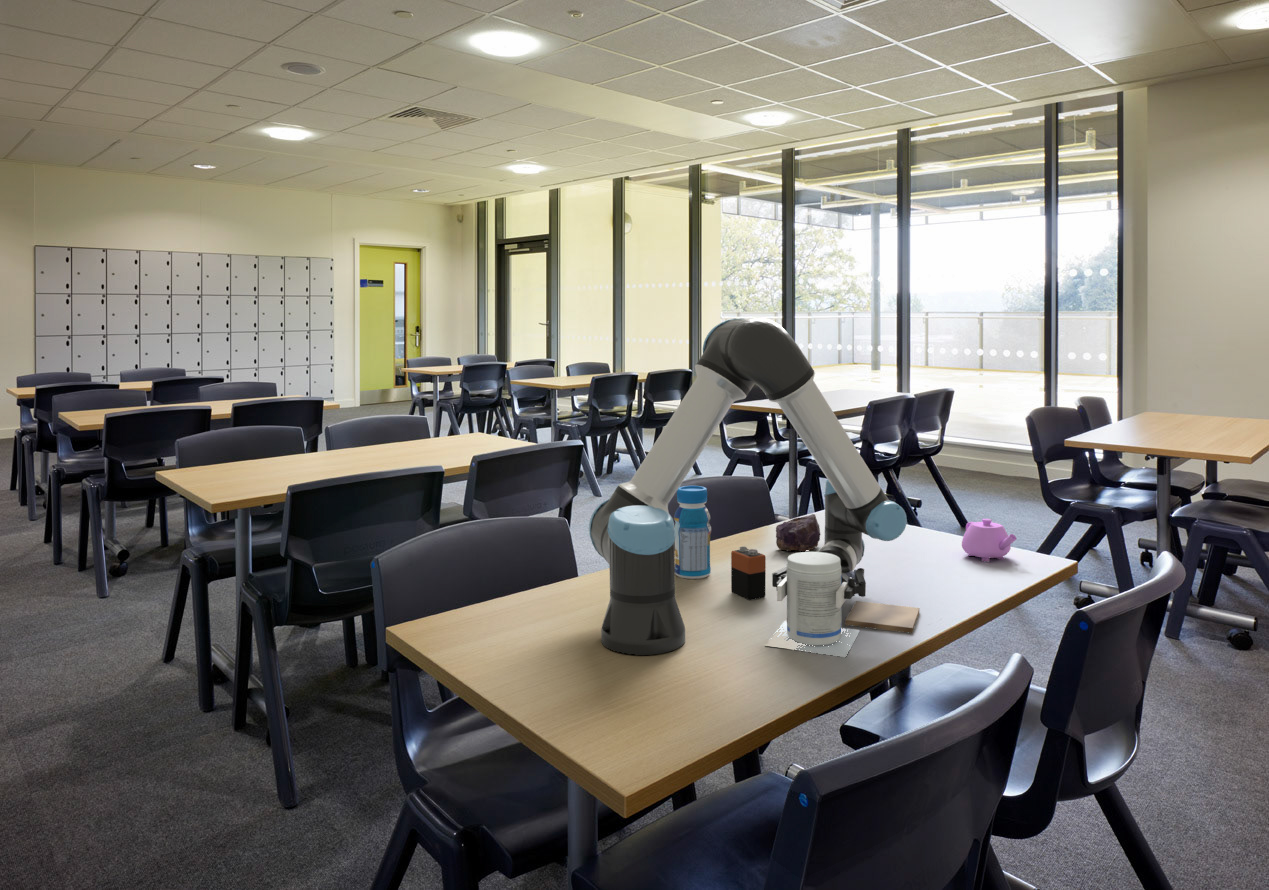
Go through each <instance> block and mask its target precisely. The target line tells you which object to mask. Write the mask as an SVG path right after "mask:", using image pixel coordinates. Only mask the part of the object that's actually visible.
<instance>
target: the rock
mask: <svg viewBox="0 0 1269 890" xmlns="http://www.w3.org/2000/svg"><path fill="white" fill-rule="evenodd" d="M816 516H817V515H816V514H814V513H812V514H810V515H804V516H801V517H794V518H792V519H790V520H788V521H784V522H782V523H780V524H778V525H776V527H775V538H776V540H775V541H776V542H775V543H776V546H777V548H778V550H781V551H782V550H788V551H787V552H790V551H791V550H795V551H798V552H801V551H805V552H807V551H806V550H809V551H810V549H811V550H813V549H814V548H817V547H818V546H819V542H820V540H821V539H820V538H821V529H820V525H819V522H818V520H817V517H816ZM791 552H792V551H791Z"/></svg>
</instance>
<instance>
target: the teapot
mask: <svg viewBox="0 0 1269 890" xmlns="http://www.w3.org/2000/svg"><path fill="white" fill-rule="evenodd" d="M1016 540H1017V536H1016V535H1014V533H1010V534H1008V533H1007V531H1006V529H1005V527H1004V525H1002V524H1000V523H998V522H993V519H991V518H982V519H981V521H976V522H975V521H969V522H967V523H966V525H965V532H964V534H963V537H962V540H961V548H962V549H963V551H964V553H966V554H967V555H968V556H975V557H977V558H978V557H979V558H981V559H980V560H982V562H984V561H989V562H990V560H991V559H993V558H995V559H996V558H998V559H997V560H1004V559H1005V556H1007V554H1008V553H1010V550H1011V546H1012V544H1013V543H1014V542H1015V541H1016ZM968 556H967V557H968Z"/></svg>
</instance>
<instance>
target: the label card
mask: <svg viewBox="0 0 1269 890" xmlns="http://www.w3.org/2000/svg"><path fill="white" fill-rule="evenodd" d="M779 627H780V628H779ZM779 627H778V628H779V629H781V630H780V631H779V632H781V633H780V634H779V635H778V636H777V637H779V636H780V635H781V634H782V632H785V631H786V632H785V633H784V634H783V635H782V636H787V637H786V638H788V637H789V636H788V634H786V633H787V620H784V621H782V623H781V625H780V626H779ZM782 627H783V628H782ZM778 628H777V629H776V631H775V632H774V634H775V633H776V632H778V630H779V629H778ZM841 628H842V629H843V628H844V627H841ZM783 629H784V630H783ZM847 629H849V630H848V632H847ZM847 629H846V631H845V633H844V631H843V632H842V634H841V637H840V639H839V640H838V641H837V642H834V643H832V644H833V645H832V644H828V645H824V646H823V645H819V646H815V645H813V646H812V645H810V646H809V645H806V644H805V645H806V646H803V645H801V646H800V645H798V646H800V647H802V646H803V647H802V648H800V647H799V648H796V649H797V650H799V649H800V650H799V651H798V652H801V650H803V651H805V650H806V651H805V652H804V653H808V652H810V651H811V654H816V653H818V655H823V654H826V655H825V656H830V655H833V656H832V657H837V656H840V657H839V658H845V657H846V656H848V655H846V654H849V653H848V651H849V650H850V651H851V648H852V647H853V645H854V643H855V641H856V639H857V636H858V635H859V633H860V632H861V630H860V629H855V628H847ZM850 629H851V630H850ZM846 633H849V634H848V636H847V637H846V636H845V635H847V634H846ZM850 633H851V634H850ZM849 635H850V637H849ZM786 638H785V639H786ZM770 639H772V638H771V637H770ZM785 639H784V640H785ZM789 639H791V638H790V637H789V638H788V639H787V640H786V641H788V640H789ZM839 641H840V642H839ZM841 642H842V643H841ZM797 643H798V642H797ZM847 644H848V645H847ZM849 645H850V646H849ZM798 646H797V647H798ZM814 646H815V647H814ZM828 646H829V647H828ZM804 647H805V648H804ZM794 650H795V649H794ZM794 650H793V651H794ZM850 651H849V652H850ZM846 658H847V657H846Z"/></svg>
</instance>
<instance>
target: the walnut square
mask: <svg viewBox="0 0 1269 890" xmlns="http://www.w3.org/2000/svg"><path fill="white" fill-rule="evenodd" d="M919 615H920V607H915V606H906V605H905V606H904V605H895V604H887V603H879V602H878V603H877V602H869V601H861V600H856V601H855V603H854V604H853V606H852V607H851V610H850V611H849V613H848V614H847V616H846V618H845V621H844V623H845V626H849V625H853V626H852V627H857V626H860V627H859V628H865V627H867V628H866V629H873V628H876V629H875V630H881V629H883V630H882V631H891V632H898V631H900V632H899V633H906V632H909V633H908V634H914V629H915V626H916V624H917V621H918V618H919Z"/></svg>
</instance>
